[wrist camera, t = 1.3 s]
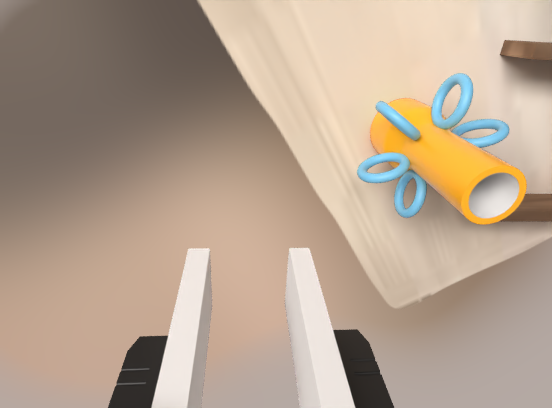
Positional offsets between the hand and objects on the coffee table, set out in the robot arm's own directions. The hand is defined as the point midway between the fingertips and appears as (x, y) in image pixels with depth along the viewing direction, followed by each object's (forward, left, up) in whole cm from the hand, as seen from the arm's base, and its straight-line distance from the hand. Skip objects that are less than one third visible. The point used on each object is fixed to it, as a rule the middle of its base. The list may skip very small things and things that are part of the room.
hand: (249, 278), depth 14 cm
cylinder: (-10, +12, -23) cm, 27 cm away
